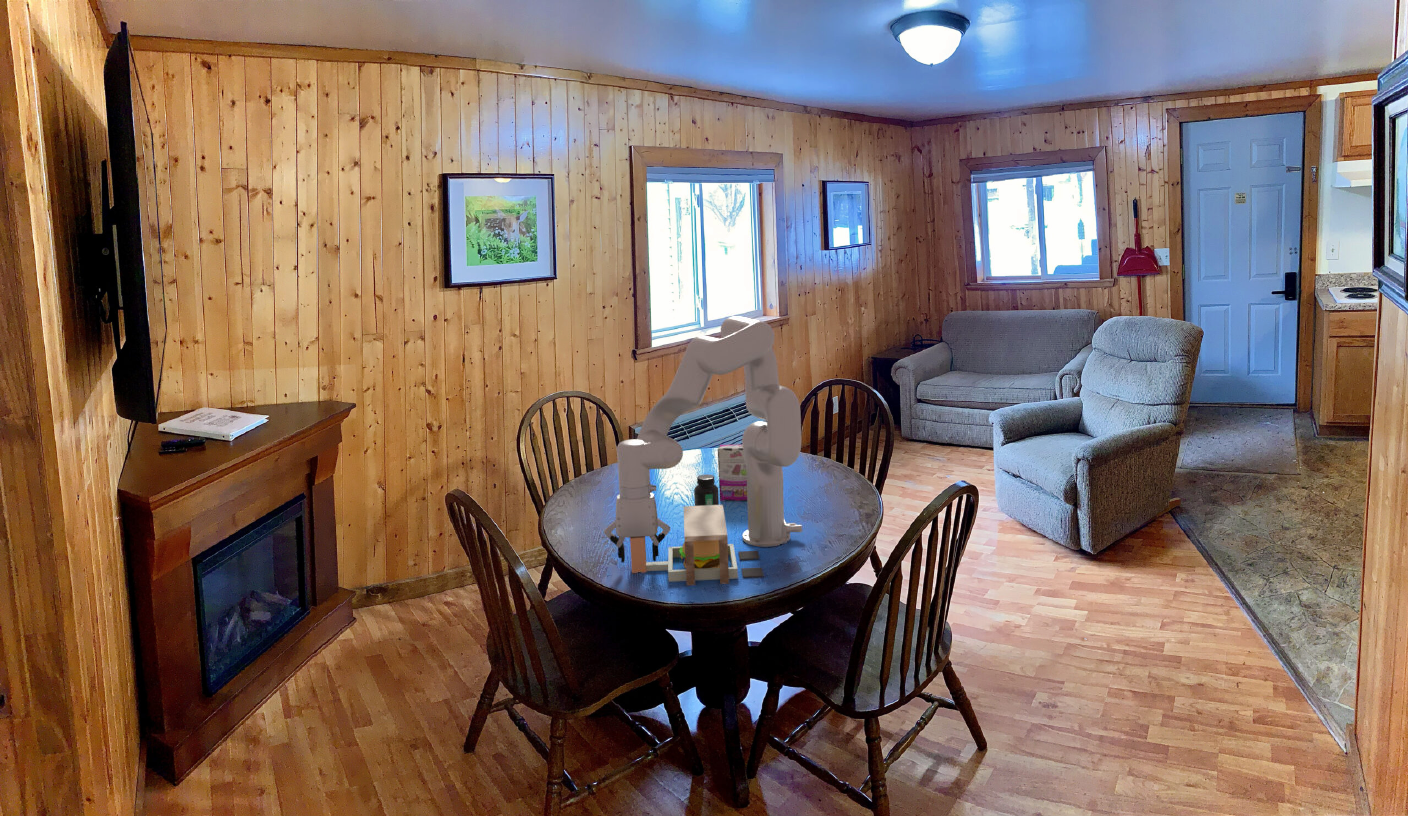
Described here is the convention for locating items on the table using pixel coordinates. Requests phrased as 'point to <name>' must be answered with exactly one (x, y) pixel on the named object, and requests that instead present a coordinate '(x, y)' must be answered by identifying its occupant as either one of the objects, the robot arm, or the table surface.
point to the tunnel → (705, 536)
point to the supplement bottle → (706, 491)
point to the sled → (674, 575)
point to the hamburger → (704, 554)
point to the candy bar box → (732, 473)
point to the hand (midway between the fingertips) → (638, 559)
